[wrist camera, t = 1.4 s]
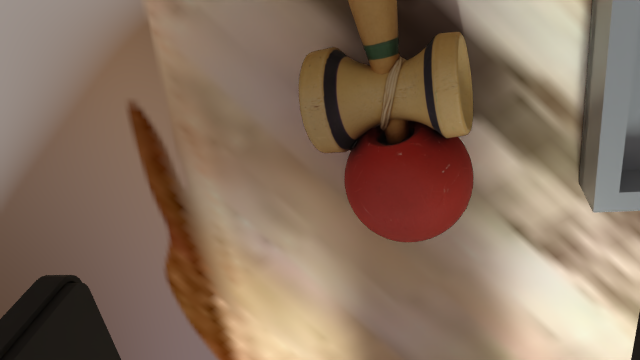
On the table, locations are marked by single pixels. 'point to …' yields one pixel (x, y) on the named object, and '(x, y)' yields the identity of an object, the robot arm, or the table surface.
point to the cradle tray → (612, 108)
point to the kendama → (394, 125)
